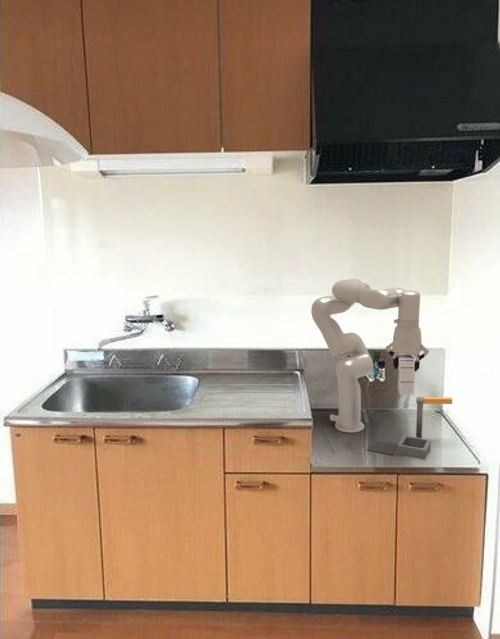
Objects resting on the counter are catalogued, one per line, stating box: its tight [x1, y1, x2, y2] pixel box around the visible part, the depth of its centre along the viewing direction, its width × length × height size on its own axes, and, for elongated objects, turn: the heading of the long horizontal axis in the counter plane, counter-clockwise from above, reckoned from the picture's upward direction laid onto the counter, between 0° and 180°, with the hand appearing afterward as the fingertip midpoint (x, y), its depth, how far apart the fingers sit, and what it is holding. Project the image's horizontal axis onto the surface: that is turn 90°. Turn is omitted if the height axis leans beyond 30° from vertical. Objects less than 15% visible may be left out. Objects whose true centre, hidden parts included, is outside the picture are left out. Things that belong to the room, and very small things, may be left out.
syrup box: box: [397, 354, 416, 396], centre depth 190 cm, size 6×6×14 cm
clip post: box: [415, 403, 424, 438], centre depth 200 cm, size 6×5×16 cm
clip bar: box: [415, 396, 453, 405], centre depth 198 cm, size 3×14×2 cm, turn 83°
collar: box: [397, 434, 432, 460], centre depth 194 cm, size 10×10×4 cm
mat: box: [366, 439, 399, 456], centre depth 198 cm, size 10×10×1 cm
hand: (406, 368), depth 189 cm, fingers closed on syrup box, 6 cm apart
